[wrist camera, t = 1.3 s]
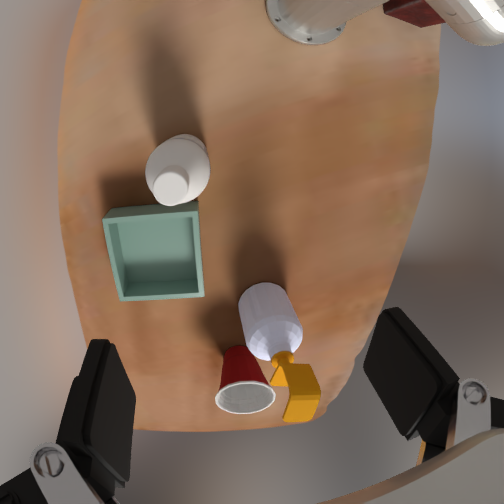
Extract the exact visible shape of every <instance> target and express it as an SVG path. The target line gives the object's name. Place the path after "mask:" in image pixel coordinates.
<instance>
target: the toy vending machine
mask: <svg viewBox="0 0 504 504" xmlns="http://www.w3.org/2000/svg"><path fill="white" fill-rule="evenodd" d="M383 7H384V13H385V14H386V15H389V16H392V17H395V18H398V19H400V20H403V21H406V22H408V23H411V24H413V25H416V26H418V27H421V28H422V27H426V26H431V25H436V24H440V23H446V22H445V21H444V19H442V18H441V16H440V15H439V14H438V13H437V12H436V11H435V10H434V9H433V8H432V7H431V6H430V5H429V4H428V3H427V2H426V1H425V0H389V1H387V2H385V3H383Z"/></svg>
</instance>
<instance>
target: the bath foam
mask: <svg viewBox="0 0 504 504" xmlns="http://www.w3.org/2000/svg"><path fill="white" fill-rule="evenodd" d="M145 174H146V181H147V184H148V186H149V188H150V190H151V191H152V193H153V195H154V197H155V198H156V200H157V201H158V202H160V203H161V204H163V205H166V206H174V205H177V204H181V203H186V202H189V201H191V200H193V199H194V198H196V197H197V196H198V195H199V194H200V193H201V192H202V191H203V190H204V188H205V187H206V185H207V183H208V181H209V177H210V162H209V157H208V152H207V149H206V147H205V145H204V144H203V143H202V141H200V140H199V139H198V138H197V137H195V136H192V135H189V134H180V135H176V136H174V137H172V138H170V139H168V140H166V141H165V142H164V143H162V144H161V145H159V146H158V147H157V148H156V149H155V150H154V151H153V152H152V153H151V155H150V157H149V158H148V161H147V164H146V171H145Z"/></svg>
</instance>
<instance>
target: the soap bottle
mask: <svg viewBox="0 0 504 504" xmlns="http://www.w3.org/2000/svg"><path fill="white" fill-rule="evenodd" d="M238 306H239V313H240V318H241V323H242V327H243V332H244V336H245V341H246V345H247V347H248V349H249V350H250V352H251V353H252V354H253V355H254V356H256V357H258V358H259V359H263V360H267V361H269V360H271V363H272V365H273V367H275V368H276V370H275V372H274V374H273V376H272V378H271V380H270V384H271V385H272V386H289V393H290V395H289V400H288V403H287V406H286V408H285V411H284V414H283V417H282V418H283V420H284V421H285V422H302V421H309V420H311V419H312V417H313V415H314V413H315V410H316V408H317V405H318V403H319V400H320V396H321V390H320V386H319V384H318V382H317V379H316V377H315V375H314V372H313V370H312V368H311V366H310V365H309V364H293V361H294V357H293V354H292V353H293V352H294V351H295V350H296V349H297V348H298V347H299V345H300V343H301V341H302V334H303V328H302V326H301V324H300V322H299V320H298V317H297V315H296V313H295V311H294V309H293V307H292V305H291V303H290V301H289V298H288V296H287V294H286V292H285V290H284V289H282V288H281V287H280V286H279V285H276V284H273V283H259V284H255V285H253V286H251V287H250V288H248V289H247V290H246V291H245V292H244V293H243V294H242V296H241V297H240V300H239V303H238Z"/></svg>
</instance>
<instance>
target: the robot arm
mask: <svg viewBox="0 0 504 504" xmlns="http://www.w3.org/2000/svg"><path fill="white" fill-rule="evenodd" d="M387 1H389V0H266V10H267V15H268V17H269V19H270V21H271V23H272V24H273V25H274V27H275V28H276V29H277V30H278V31H279V32H280V33H282V34H283V35H284V36H286V37H287V38H289V39H291V40H293V41H296V42H299V43H301V44H307V45H321V44H325V43H328V42H330V41H332V40H334V39H336V38H337V37H338V36H340V34H341V33H342V32H343V30H344V28H345V26H346V22H347V21H349V20H351V19H353V18H355V17H357V16H359V15H361V14H363V13H365V12H367V11H369V10H371V9H373V8H375V7H377V6H379V5H381V4H383V3H385V2H387ZM425 1H426V2H427V3H428V4H429V5H430V6H431V7H432V8H433V9H434V10H435V11H436V12H437V13H438V14H439V15H440V16H441V18H442V19H444V21H445V22H446V23H447V24H448V25H449V26H450V27H451V28H452V29H453V30H454V31H455V32H456V33H457V34H458V35H459V36H460V37H462V38H463V39H465V40H466V41H468V42H470V43H472V44H476V45H481V46H490V45H496V44H500V43H503V42H504V0H425ZM275 20H277V21H278V22H277V21H275ZM336 29H337V30H336ZM307 39H309V41H308V40H307ZM363 368H364V371H365V373H366V375H367V377H368V378H369V380H370V382H371V383H372V385H373V387H374V389H375V390H376V392H377V394H378V396H379V397H380V399H381V401H382V403H383V404H384V406H385V408H386V410H387V411H388V413H389V415H390V416H391V418H392V420H393V422H394V424H395V425H396V427H397V429H398V431H399V432H400V434H401V435H402V436H405V437H406V439H407V440H408V441H409V440H411V439H413V438H415V437H417V436H419V435H420V436H421V438H422V443H421V447H420V452H419V456H418V460H417V464H416V467H414V468H412V469H410V470H407V471H405V472H403V473H401V474H399V475H396V476H394V477H392V478H390V479H387V480H385V481H383V482H380V483H378V484H375V485H372V486H370V487H367V488H365V489H362V490H359V491H356V492H354V493H350V494H347V495H345V496H341V497H338V498H335V499H332V500H328V501H325V502H321V503H317V504H504V400H502V399H498V398H493V397H490V393H489V390H488V388H487V387H486V385H485V384H483V383H482V382H481V381H479V380H476V379H471V378H469V379H465V380H464V381H462V382H461V384H459V383H458V380H459V379H460V378H459V377H458V376H457V375H456V373H455V372H454V371H453V370H452V368H451V367H450V366H449V365H448V364H447V362H446V361H445V360H444V359H443V357H442V356H441V355H440V354H439V353H438V351H437V350H436V349H435V348H434V347H433V346H432V344H431V343H430V342H429V341H428V340H427V338H426V337H425V336H424V335H423V334H422V333H421V331H420V330H419V329H418V328H417V327H416V326H415V325H414V323H413V322H412V321H411V320H410V319H409V318H408V317H407V316H406V314H405V313H404V312H403V311H402V310H401V309H400V308H399V307H394V308H389V309H385V310H383V311H382V313H381V314H380V315H379V317H378V320H377V323H376V327H375V330H374V333H373V336H372V340H371V343H370V346H369V349H368V352H367V355H366V358H365V361H364V366H363ZM135 404H136V396H135V392H134V390H133V387H132V385H131V383H130V381H129V378H128V376H127V374H126V372H125V369H124V367H123V364H122V362H121V359H120V357H119V355H118V352H117V349H116V347H115V345H114V344H113V343H110V342H109V340H108V339H92V340H91V341H90V344H89V347H88V349H87V352H86V355H85V358H84V361H83V364H82V367H81V370H80V373H79V376H76V377H75V378H74V380H73V382H72V385H71V389H70V392H69V395H68V399H67V402H66V405H65V409H64V413H63V416H62V420H61V424H60V428H59V432H58V436H57V440H56V444H55V443H43V444H40V445H39V446H38V447H36V448H35V449H34V451H33V452H32V454H31V457H30V468H29V469H27V470H26V471H24V472H22V473H21V474H19V475H17V476H16V477H14V478H13V479H11V480H9V481H8V482H6V483H4V484H2V485H1V486H0V504H119V502H118V501H117V500H116V499H115V498H114V491H115V487H119V488H125V481H129V477H130V460H131V446H132V434H133V423H134V413H135Z"/></svg>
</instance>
